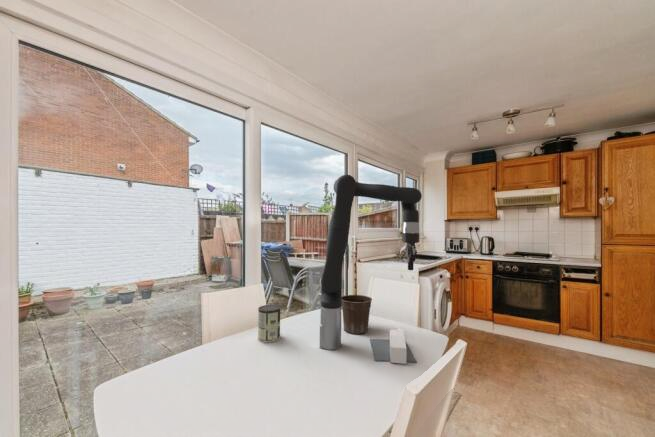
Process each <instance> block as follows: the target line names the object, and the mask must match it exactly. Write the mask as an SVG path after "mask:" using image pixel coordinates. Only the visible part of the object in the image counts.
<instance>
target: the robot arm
mask: <svg viewBox="0 0 655 437" xmlns="http://www.w3.org/2000/svg"><path fill="white" fill-rule="evenodd" d="M333 191H334V193H335V204H334V209H333V211H332V214H331V217H330V220H329V225H328V229H327V236H326V255H325V256H326V257H325V263H324V267H323V272H322V274H321V277H320V285H321V286H320V287H321V288H320V290H321V291H320V324H319V349H324V350H328V351H329V350H331V351H332V350H337V349H340V348H341V346H342V296H343V293H342V291H343V290H342V288H343V286H342V285H343V281H342V280H343V278H342V277H343V276H342V275H343V263H344V262H343V261H344V258H345V253H346V250H347V245H348V240H349V234H350V227H351V226H350V225H351V218H352V217H351V216H352V207H353V202H354V198H355V197H361V198H369V199H375V200H380V201H381V200H382V201H388V202H400V203H401V204H400V205H401V210H402V227H401V228H402V240H401V241H402V243H405V244H406V246H405V249H404V251H405V259H406V261H407V270H408V271H414V262H415V261H416V259H417V253H418V251H417V247H416V243H417V244H418V243H419V242H420V213H419V210H418V209H416V204H417V203H420V201H421V200H422V197H423V196H422V193H421V191H420V190H419V189H418V188H415V187H408V186H407V187H405V186H395V185H388V184H383V183H382V184H381V183H379V184H378V183H363V182H358V181H356V179H355V178H354V176H353V175H350V174H343V175H340V176H339V177H338V178H337V179H336V180H335V182H334V183H333Z"/></svg>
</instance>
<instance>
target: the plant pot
mask: <svg viewBox="0 0 655 437" xmlns="http://www.w3.org/2000/svg"><path fill="white" fill-rule="evenodd" d="M372 301H373V298H372V297H370V296H366V295H363V294H362V295H361V294H347V295H342V306H341V311H342V319H343V320H342V321H343V331H344V332H346V333H348V334H352V335H361V334H366V333H368V331H369V322H370V321H369V320H370V311H371V307H372Z"/></svg>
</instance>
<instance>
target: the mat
mask: <svg viewBox="0 0 655 437" xmlns="http://www.w3.org/2000/svg"><path fill="white" fill-rule="evenodd" d="M369 342H370V347H371V349H372V355H373V357H374V361H375V362H388V363H389V362H390V338H389V339H387V338H386V339H385V338H383V339H382V338H370V339H369ZM405 342H406V348H407V350H406V363H413V364H416V363H417V361H418V360H416V358H415V356H414V354H413V352H412V350H411V349H410V347H409V345H408V343H407V341H406V340H405ZM390 363H391V362H390ZM417 364H418V363H417Z"/></svg>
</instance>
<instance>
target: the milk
mask: <svg viewBox="0 0 655 437" xmlns="http://www.w3.org/2000/svg"><path fill="white" fill-rule="evenodd" d="M389 339H390V363H393V364H403V365H407V362H406V350H407V348H406V343H407V341H406V338H405V331H404V330H402V329H398V328H395V329H394V328H392V329H389ZM405 341H406V342H405Z"/></svg>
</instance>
